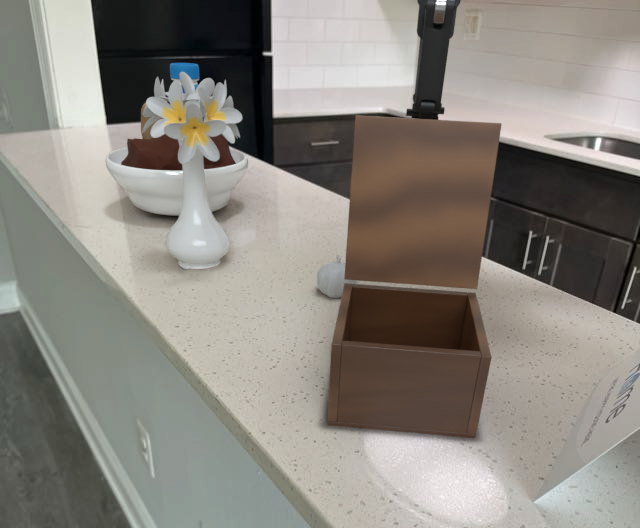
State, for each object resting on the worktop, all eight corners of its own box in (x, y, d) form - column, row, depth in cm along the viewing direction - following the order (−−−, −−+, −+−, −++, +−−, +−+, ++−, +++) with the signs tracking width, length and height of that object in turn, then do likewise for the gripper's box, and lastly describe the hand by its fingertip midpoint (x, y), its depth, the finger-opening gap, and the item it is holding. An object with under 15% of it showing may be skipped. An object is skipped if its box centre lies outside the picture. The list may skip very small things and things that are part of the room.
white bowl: (103, 197, 127) (91, 112, 119) (227, 189, 136) (224, 110, 128) (124, 235, 108) (111, 137, 100) (267, 223, 117) (266, 132, 109)
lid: (501, 123, 61) (500, 123, 62) (355, 115, 62) (355, 115, 63) (477, 289, 68) (476, 287, 68) (344, 279, 69) (344, 278, 69)
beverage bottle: (207, 158, 161) (202, 66, 150) (172, 158, 160) (164, 65, 149) (207, 151, 168) (202, 62, 157) (173, 151, 167) (166, 61, 156)
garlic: (328, 284, 93) (329, 248, 90) (362, 292, 91) (365, 255, 88) (308, 298, 88) (309, 260, 86) (343, 306, 86) (346, 268, 84)
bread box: (474, 442, 61) (491, 356, 56) (327, 429, 62) (331, 344, 57) (462, 367, 73) (476, 292, 68) (339, 358, 74) (344, 282, 69)
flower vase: (174, 293, 88) (155, 85, 75) (146, 250, 102) (126, 69, 88) (265, 282, 93) (263, 84, 79) (227, 242, 107) (219, 69, 93)
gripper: (501, -105, 52) (456, 199, 65) (485, -87, 63) (449, 171, 76) (406, -108, 53) (380, 194, 66) (406, -90, 63) (384, 166, 76)
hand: (417, 181), depth 71 cm, fingers closed
